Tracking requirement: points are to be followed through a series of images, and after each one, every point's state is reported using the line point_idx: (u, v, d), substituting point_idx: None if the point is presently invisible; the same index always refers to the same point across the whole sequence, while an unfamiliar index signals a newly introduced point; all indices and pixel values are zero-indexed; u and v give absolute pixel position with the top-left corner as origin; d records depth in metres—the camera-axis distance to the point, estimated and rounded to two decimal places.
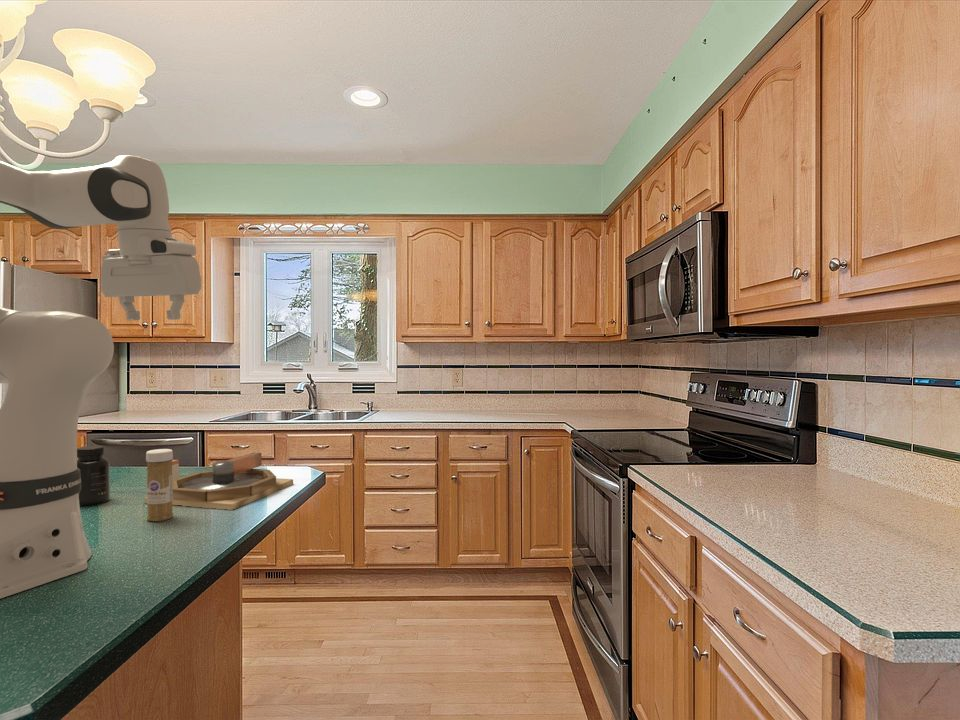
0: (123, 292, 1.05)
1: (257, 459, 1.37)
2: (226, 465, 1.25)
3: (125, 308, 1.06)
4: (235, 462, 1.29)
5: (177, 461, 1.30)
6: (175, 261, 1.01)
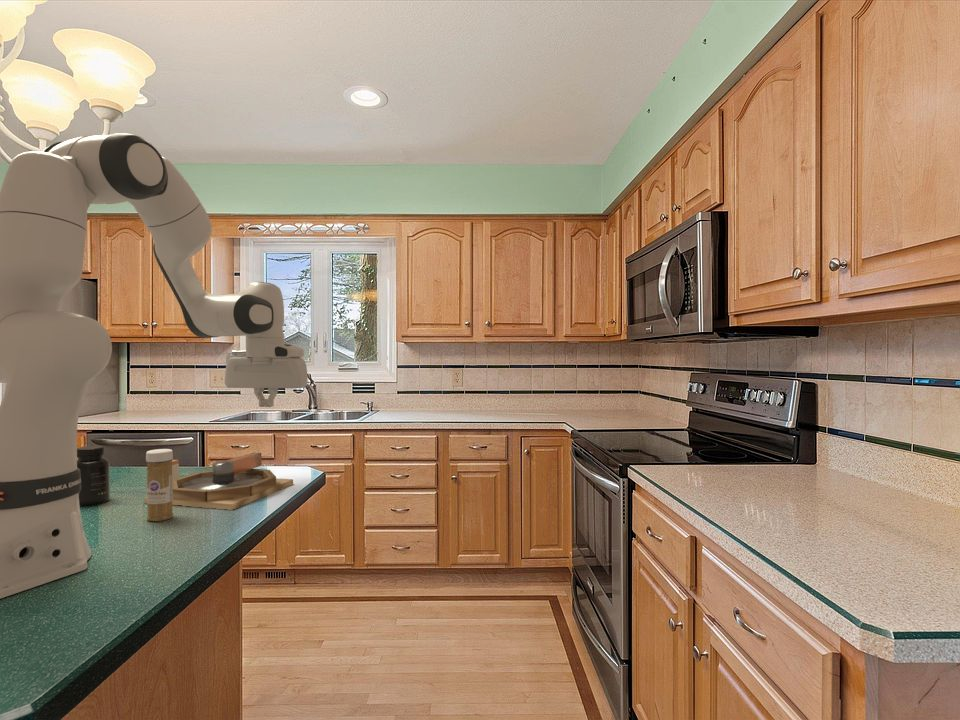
0: (244, 385, 1.33)
1: (257, 459, 1.37)
2: (226, 465, 1.25)
3: (258, 397, 1.33)
4: (235, 462, 1.29)
5: (177, 461, 1.30)
6: (293, 363, 1.30)
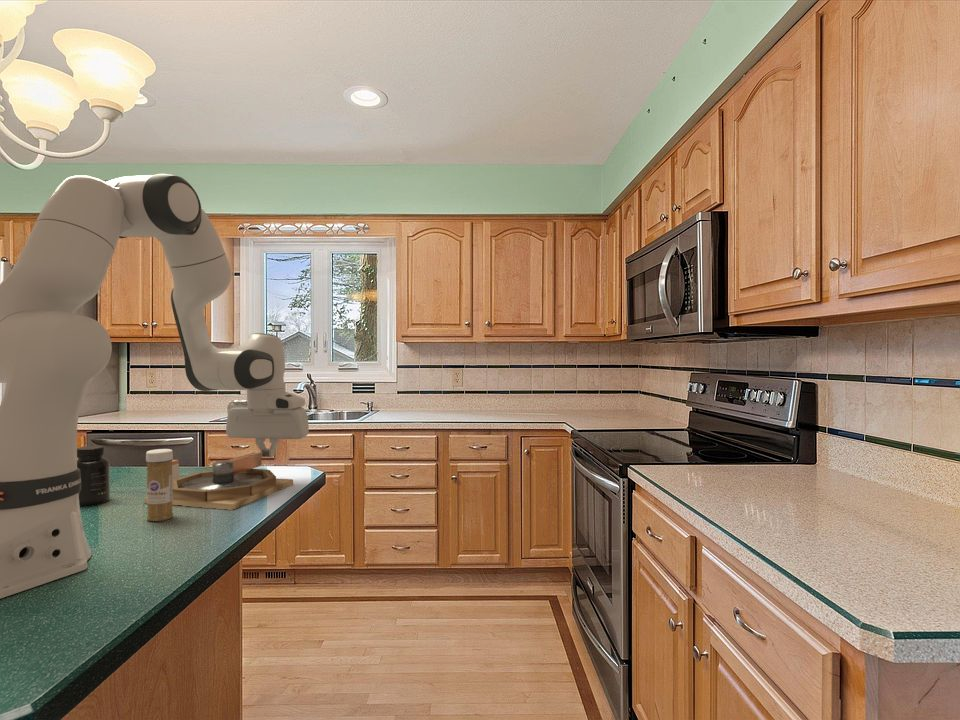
0: (245, 435, 1.34)
1: (257, 459, 1.37)
2: (226, 465, 1.25)
3: (260, 447, 1.34)
4: (235, 462, 1.29)
5: (177, 461, 1.30)
6: (294, 414, 1.31)
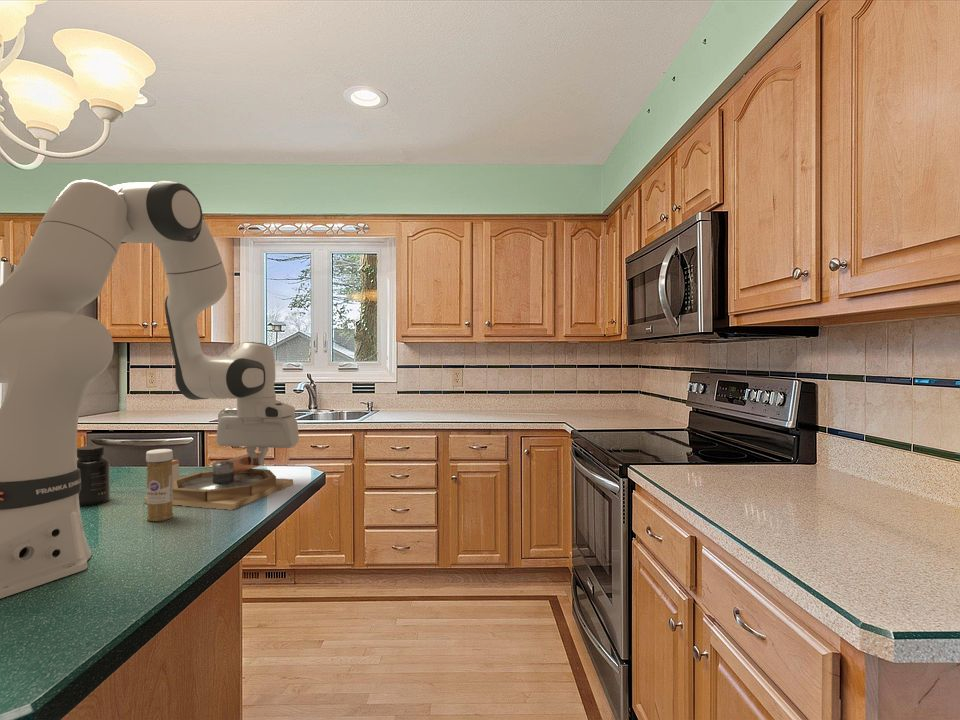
0: (235, 443, 1.34)
1: None
2: (226, 465, 1.25)
3: (251, 455, 1.34)
4: (235, 462, 1.29)
5: (177, 461, 1.30)
6: (283, 423, 1.31)
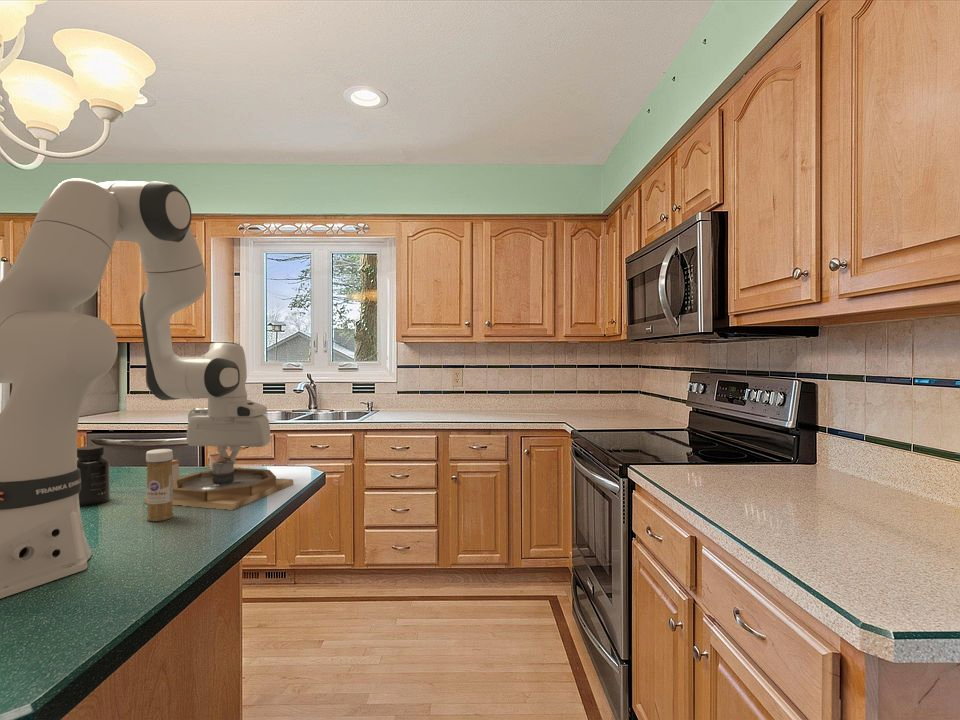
0: (206, 443, 1.34)
1: None
2: (232, 463, 1.26)
3: (222, 455, 1.35)
4: None
5: (177, 461, 1.30)
6: (255, 422, 1.32)
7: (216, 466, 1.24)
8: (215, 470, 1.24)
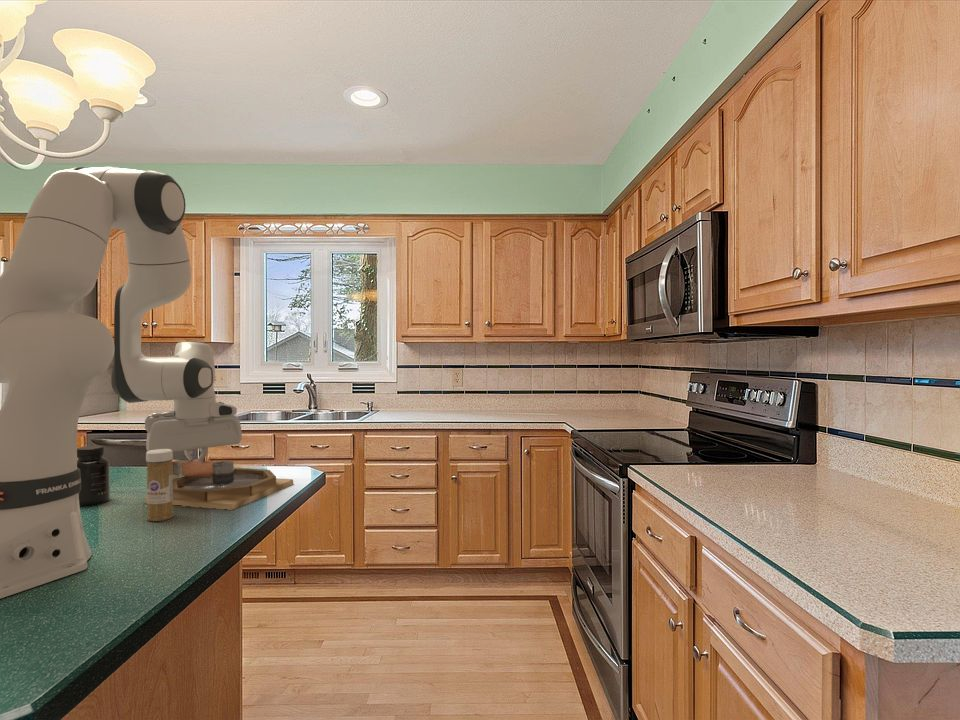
0: (176, 448, 1.27)
1: None
2: None
3: (191, 458, 1.30)
4: None
5: None
6: (236, 420, 1.34)
7: (224, 466, 1.25)
8: (222, 470, 1.24)
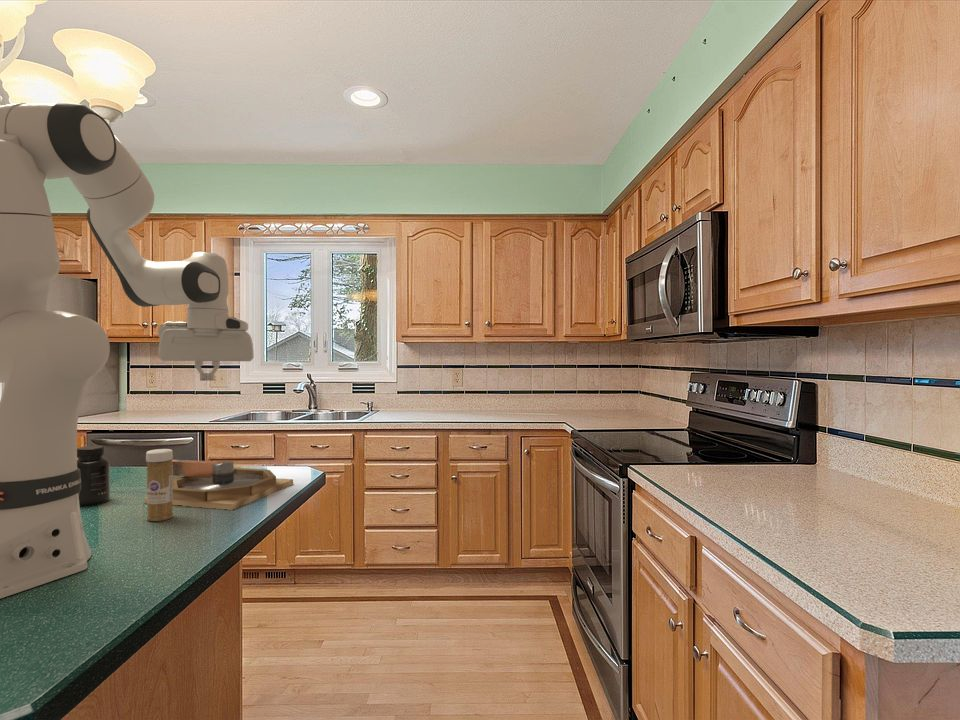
0: (184, 357, 1.27)
1: None
2: None
3: (200, 370, 1.29)
4: None
5: None
6: (245, 335, 1.31)
7: (224, 466, 1.25)
8: (222, 470, 1.24)
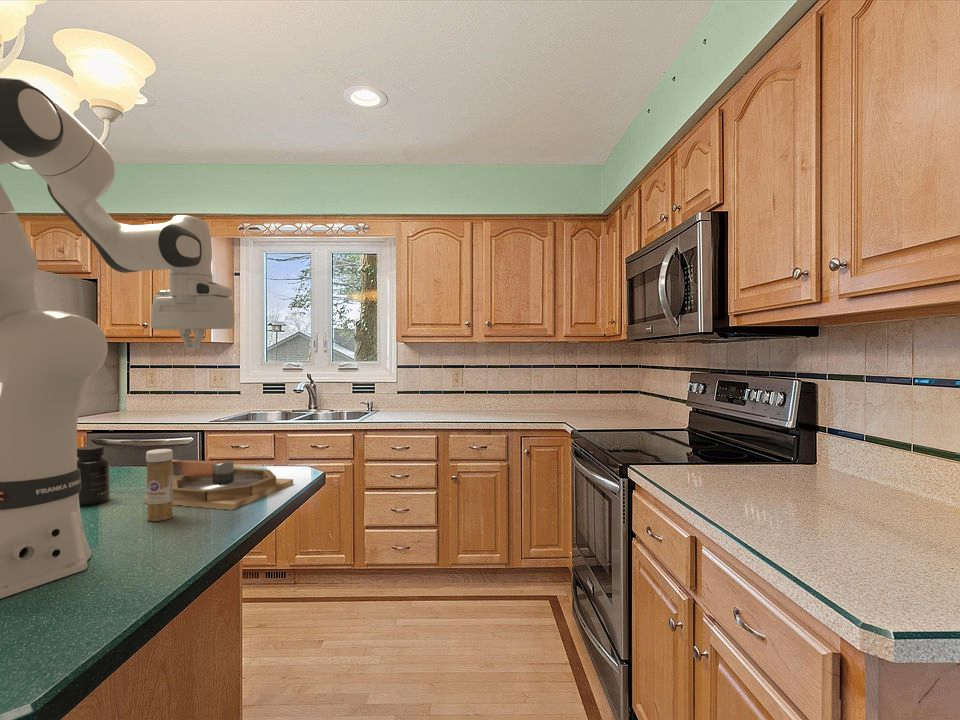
0: (169, 325, 1.26)
1: None
2: None
3: (184, 339, 1.26)
4: None
5: None
6: (215, 301, 1.22)
7: (224, 466, 1.25)
8: (222, 470, 1.24)
